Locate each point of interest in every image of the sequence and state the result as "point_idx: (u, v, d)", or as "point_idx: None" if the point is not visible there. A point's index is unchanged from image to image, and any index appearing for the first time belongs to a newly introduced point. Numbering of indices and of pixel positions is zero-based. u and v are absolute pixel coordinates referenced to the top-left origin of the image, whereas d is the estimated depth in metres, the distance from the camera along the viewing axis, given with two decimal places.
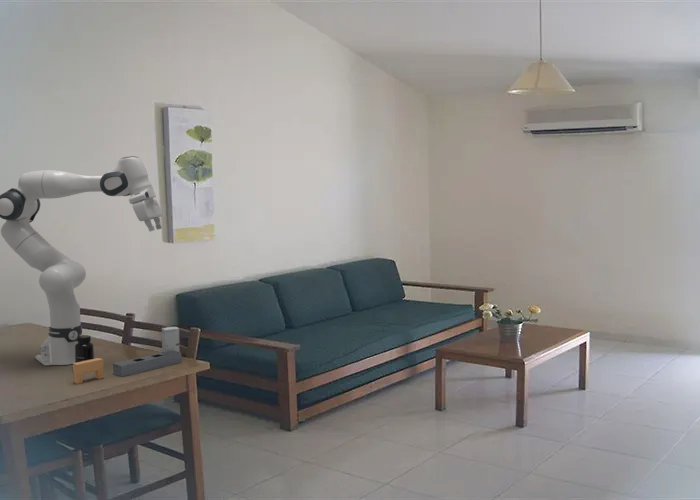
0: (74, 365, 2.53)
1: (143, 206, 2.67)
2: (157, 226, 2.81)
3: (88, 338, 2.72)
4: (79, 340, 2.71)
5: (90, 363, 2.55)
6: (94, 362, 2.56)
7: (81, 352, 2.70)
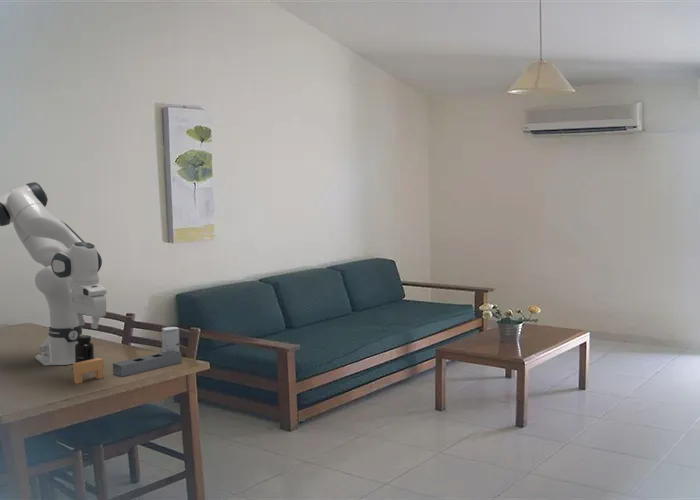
0: (74, 365, 2.53)
1: (105, 302, 2.48)
2: (81, 321, 2.57)
3: (88, 338, 2.72)
4: (79, 340, 2.71)
5: (90, 363, 2.55)
6: (94, 362, 2.56)
7: (81, 352, 2.70)
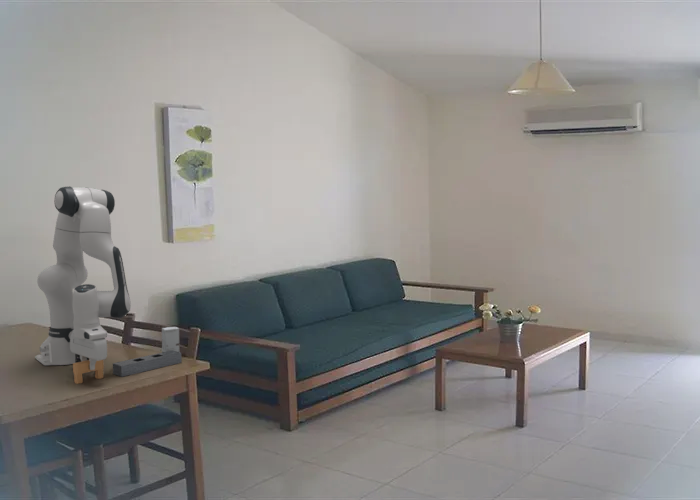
0: (74, 365, 2.53)
1: (105, 345, 2.50)
2: None
3: None
4: None
5: None
6: None
7: None
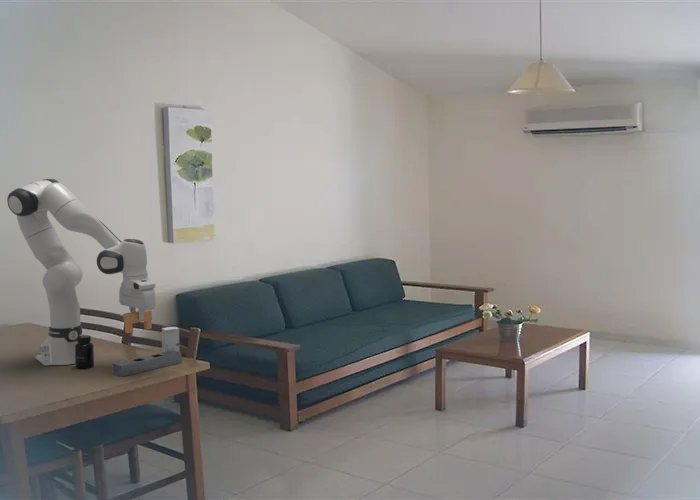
0: (124, 315, 2.64)
1: (154, 296, 2.61)
2: None
3: (88, 338, 2.72)
4: (79, 340, 2.71)
5: None
6: None
7: (81, 352, 2.70)
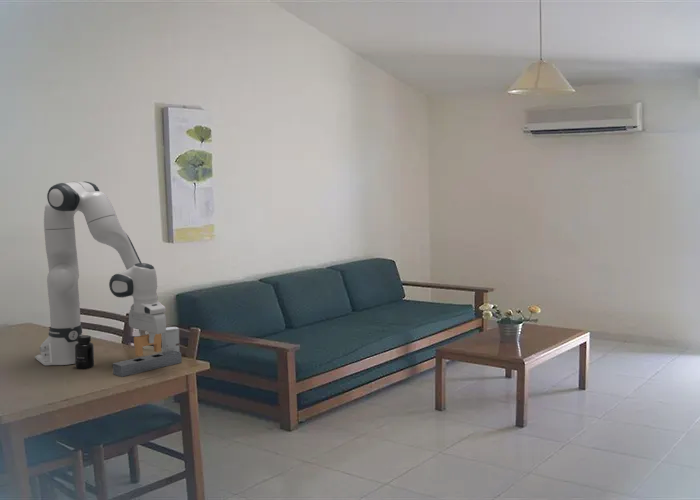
0: (135, 339, 2.68)
1: (164, 320, 2.65)
2: None
3: (88, 338, 2.72)
4: (79, 340, 2.71)
5: None
6: None
7: (81, 352, 2.70)
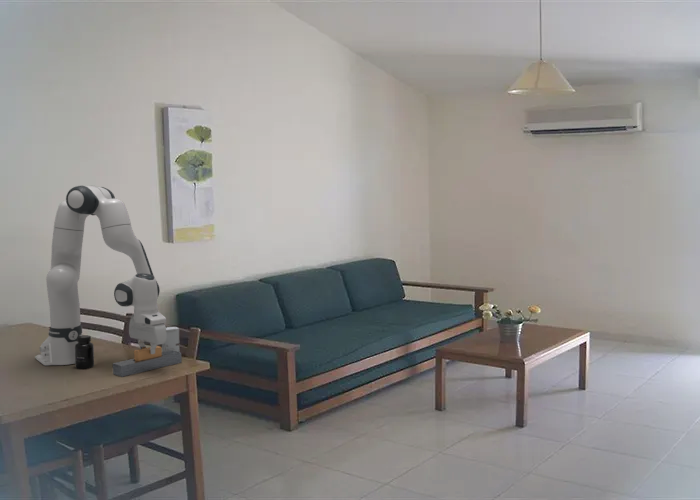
0: (135, 352, 2.68)
1: (165, 330, 2.66)
2: (143, 348, 2.73)
3: (88, 338, 2.72)
4: (79, 340, 2.71)
5: None
6: None
7: (81, 352, 2.70)
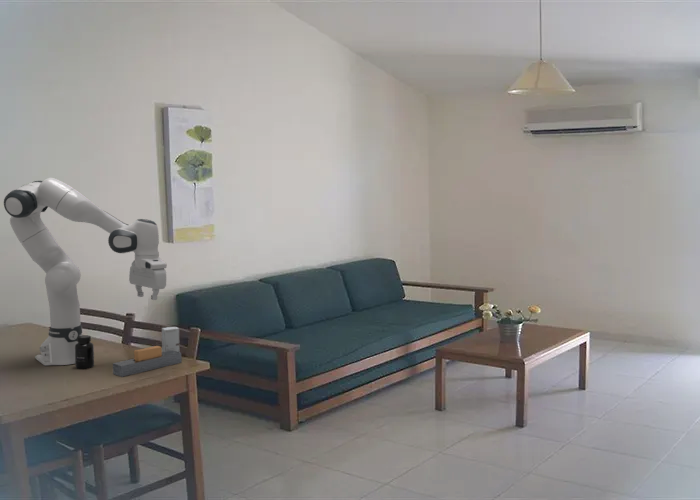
0: (135, 352, 2.68)
1: (165, 275, 2.66)
2: (140, 293, 2.74)
3: (88, 338, 2.72)
4: (79, 340, 2.71)
5: (150, 350, 2.71)
6: (153, 349, 2.72)
7: (81, 352, 2.70)
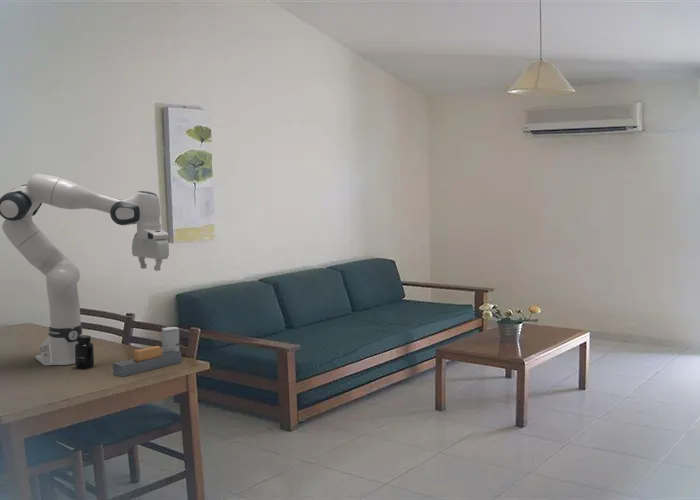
0: (135, 352, 2.68)
1: (167, 246, 2.69)
2: (144, 265, 2.77)
3: (88, 338, 2.72)
4: (79, 340, 2.71)
5: (150, 350, 2.71)
6: (153, 349, 2.72)
7: (81, 352, 2.70)
